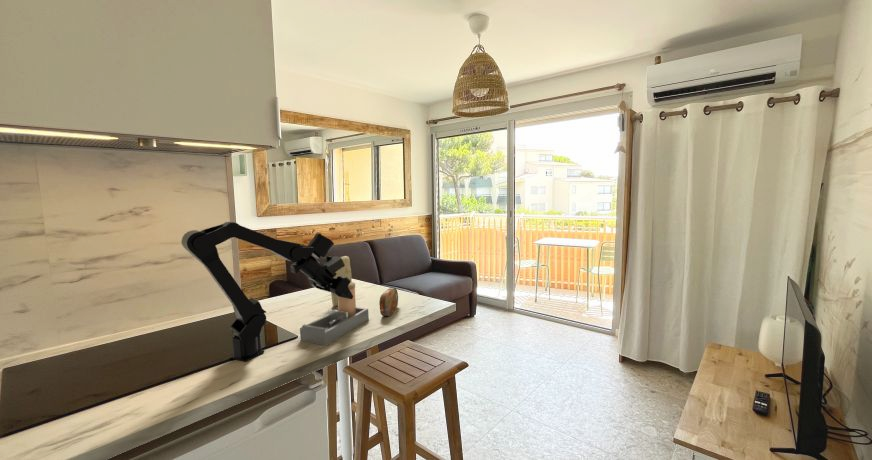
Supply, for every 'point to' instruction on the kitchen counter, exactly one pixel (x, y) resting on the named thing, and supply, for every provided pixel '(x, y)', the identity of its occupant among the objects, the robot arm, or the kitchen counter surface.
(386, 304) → the brown flat rounded slab
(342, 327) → the grey tray
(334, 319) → the pusher
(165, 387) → the kitchen counter surface
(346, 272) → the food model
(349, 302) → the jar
